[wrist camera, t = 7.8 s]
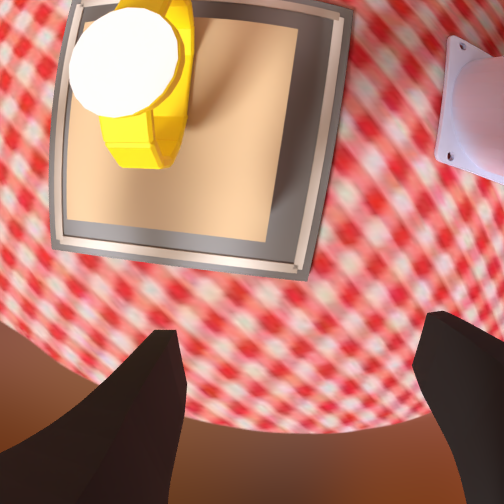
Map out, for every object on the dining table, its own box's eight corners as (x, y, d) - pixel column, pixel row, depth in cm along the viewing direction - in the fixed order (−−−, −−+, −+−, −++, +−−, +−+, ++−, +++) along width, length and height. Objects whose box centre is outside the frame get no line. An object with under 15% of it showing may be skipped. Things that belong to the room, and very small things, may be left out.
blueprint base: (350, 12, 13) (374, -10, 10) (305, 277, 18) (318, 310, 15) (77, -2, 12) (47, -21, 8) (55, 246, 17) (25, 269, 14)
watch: (202, 156, 13) (170, 198, 7) (136, 153, 12) (66, 193, 7) (217, 13, 10) (196, -50, 5) (149, 14, 10) (85, -36, 4)
